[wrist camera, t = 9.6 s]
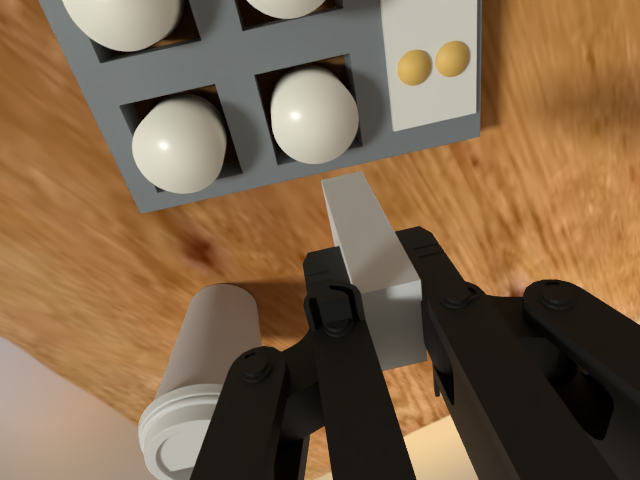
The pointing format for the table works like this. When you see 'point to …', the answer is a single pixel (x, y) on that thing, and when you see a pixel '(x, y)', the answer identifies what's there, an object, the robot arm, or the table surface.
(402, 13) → the board
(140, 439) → the coffee cup
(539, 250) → the table surface
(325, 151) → the button
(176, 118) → the button
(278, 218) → the table surface
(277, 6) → the button
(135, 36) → the button
